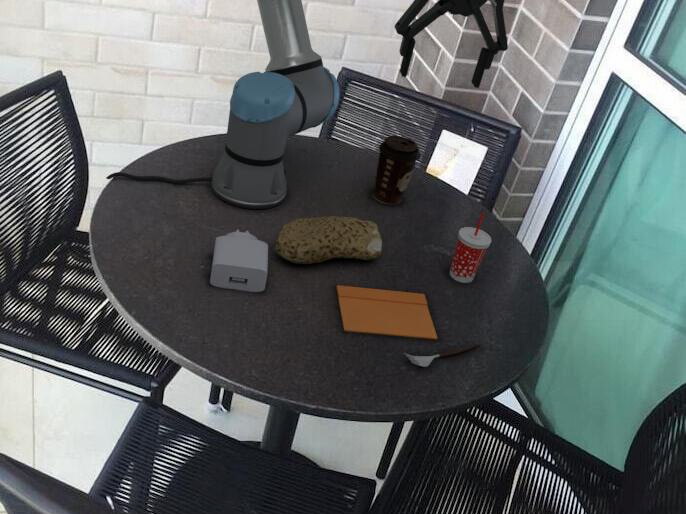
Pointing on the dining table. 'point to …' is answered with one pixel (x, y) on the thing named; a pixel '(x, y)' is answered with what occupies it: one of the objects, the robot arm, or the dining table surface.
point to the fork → (438, 355)
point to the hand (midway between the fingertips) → (439, 79)
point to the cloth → (385, 312)
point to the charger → (240, 262)
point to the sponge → (328, 239)
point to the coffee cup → (394, 169)
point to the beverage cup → (469, 252)
